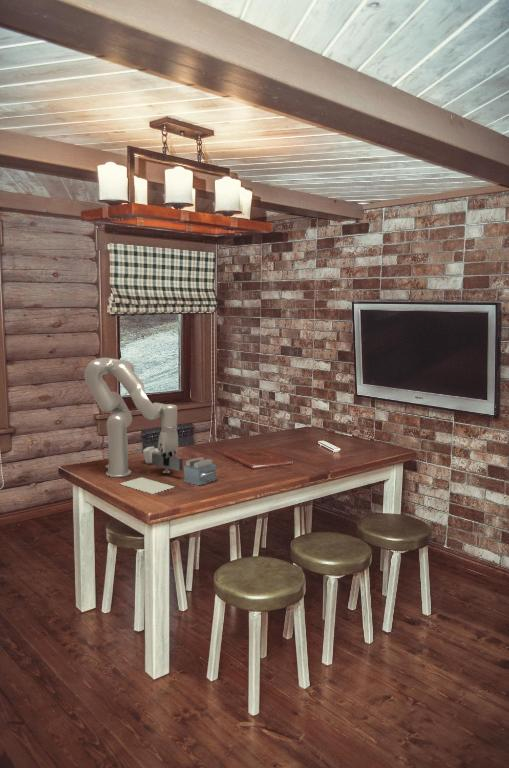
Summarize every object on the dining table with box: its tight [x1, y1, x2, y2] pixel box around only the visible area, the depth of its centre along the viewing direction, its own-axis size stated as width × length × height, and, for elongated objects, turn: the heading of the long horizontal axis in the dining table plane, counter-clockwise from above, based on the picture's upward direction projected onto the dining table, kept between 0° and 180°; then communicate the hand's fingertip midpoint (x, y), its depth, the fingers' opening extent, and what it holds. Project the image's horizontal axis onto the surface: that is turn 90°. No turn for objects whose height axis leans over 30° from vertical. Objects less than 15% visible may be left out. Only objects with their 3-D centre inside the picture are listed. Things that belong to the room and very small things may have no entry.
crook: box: [151, 451, 184, 472], centre depth 300 cm, size 20×9×6 cm, turn 51°
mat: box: [118, 477, 175, 495], centre depth 281 cm, size 24×14×1 cm, turn 51°
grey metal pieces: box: [162, 457, 219, 486], centre depth 295 cm, size 32×12×10 cm, turn 51°
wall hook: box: [142, 445, 159, 465], centre depth 322 cm, size 8×10×10 cm
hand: (167, 464), depth 298 cm, fingers closed on crook
